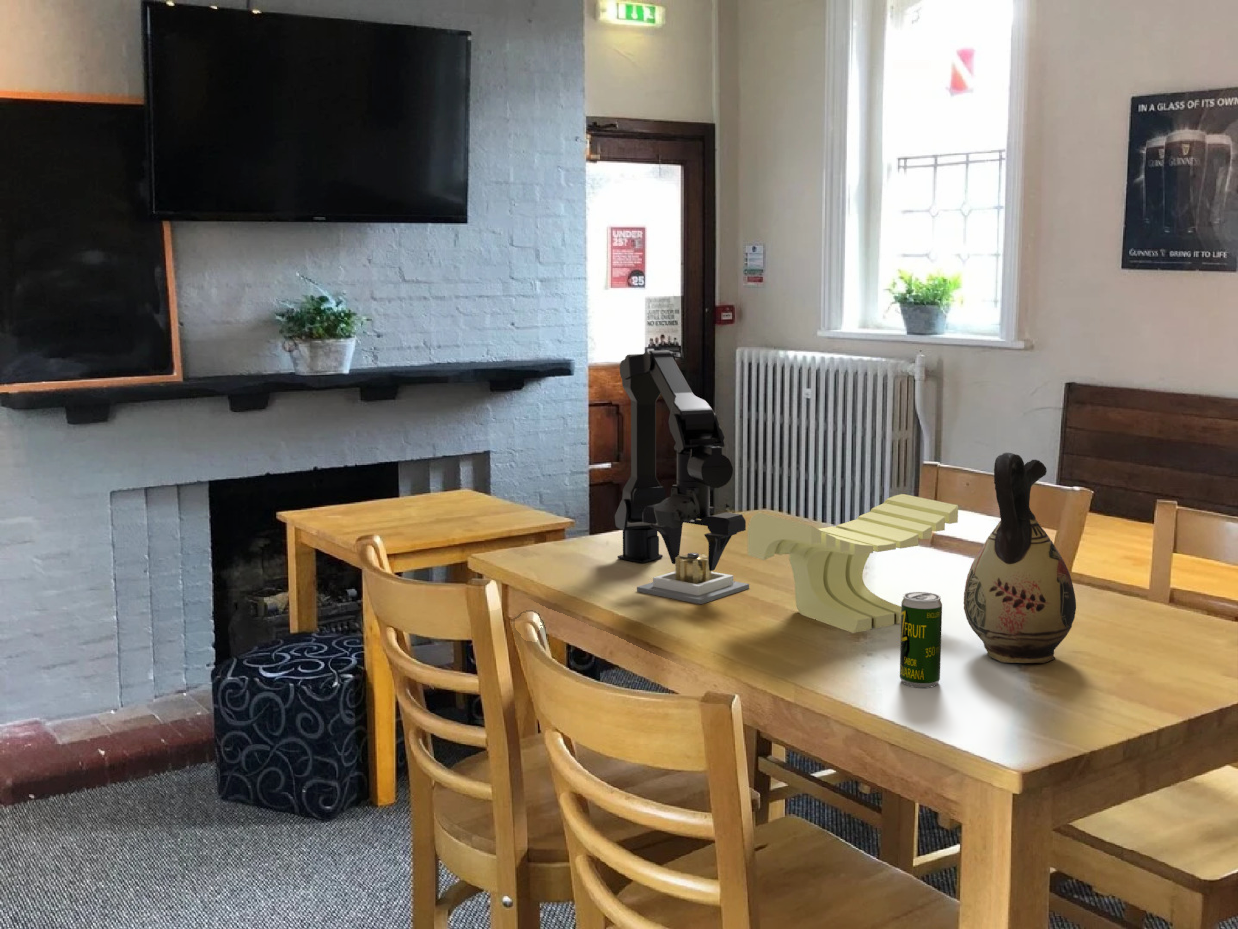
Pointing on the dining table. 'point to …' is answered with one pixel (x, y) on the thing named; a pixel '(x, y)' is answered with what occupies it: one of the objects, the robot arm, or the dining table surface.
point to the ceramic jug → (1019, 576)
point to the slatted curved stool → (847, 557)
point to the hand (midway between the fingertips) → (693, 567)
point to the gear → (692, 568)
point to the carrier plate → (693, 588)
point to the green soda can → (920, 639)
